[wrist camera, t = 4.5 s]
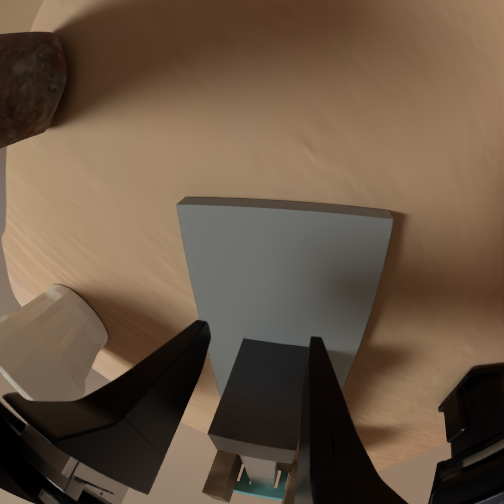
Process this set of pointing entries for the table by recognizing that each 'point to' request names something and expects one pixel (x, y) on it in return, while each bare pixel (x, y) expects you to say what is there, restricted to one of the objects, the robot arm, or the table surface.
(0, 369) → the cup
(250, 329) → the base board
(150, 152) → the table surface
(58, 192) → the table surface
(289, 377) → the shaft
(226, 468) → the bearing block
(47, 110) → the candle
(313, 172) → the table surface
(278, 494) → the spacer
